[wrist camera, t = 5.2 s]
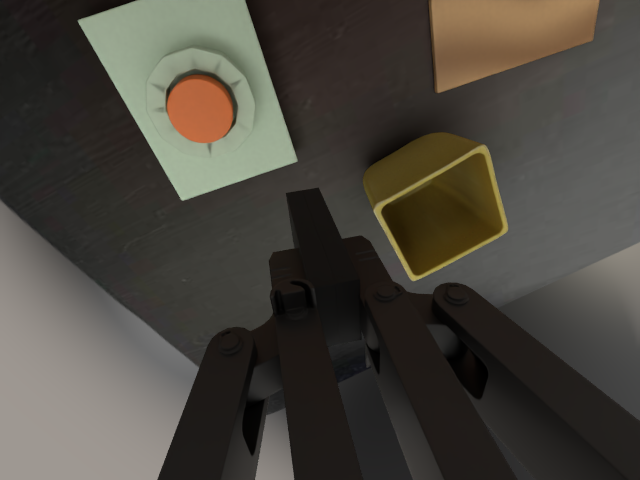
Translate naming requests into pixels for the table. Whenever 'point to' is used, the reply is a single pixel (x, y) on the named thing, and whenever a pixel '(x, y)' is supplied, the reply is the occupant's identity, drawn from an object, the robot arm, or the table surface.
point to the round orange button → (200, 108)
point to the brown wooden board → (502, 35)
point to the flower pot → (436, 201)
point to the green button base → (188, 59)
